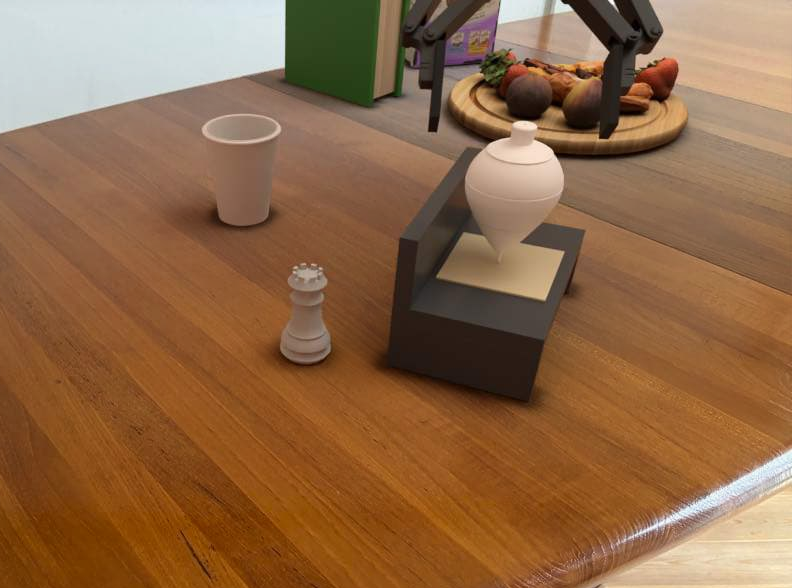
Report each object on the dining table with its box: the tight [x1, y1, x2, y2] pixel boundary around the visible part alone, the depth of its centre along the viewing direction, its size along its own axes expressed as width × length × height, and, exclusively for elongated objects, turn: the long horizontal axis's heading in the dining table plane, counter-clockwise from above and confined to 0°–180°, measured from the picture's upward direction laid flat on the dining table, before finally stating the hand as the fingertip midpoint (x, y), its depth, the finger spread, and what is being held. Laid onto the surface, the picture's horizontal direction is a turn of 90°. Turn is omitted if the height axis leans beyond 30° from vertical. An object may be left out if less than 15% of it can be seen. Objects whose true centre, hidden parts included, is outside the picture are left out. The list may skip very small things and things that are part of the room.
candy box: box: [405, 0, 502, 69], centre depth 132 cm, size 14×6×16 cm, turn 100°
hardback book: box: [284, 0, 410, 108], centre depth 120 cm, size 18×7×24 cm, turn 42°
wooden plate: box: [447, 48, 689, 156], centre depth 114 cm, size 32×32×8 cm
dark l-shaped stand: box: [385, 146, 586, 403], centre depth 71 cm, size 12×20×12 cm, turn 154°
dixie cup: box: [201, 113, 282, 227], centre depth 90 cm, size 8×8×10 cm
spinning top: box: [465, 121, 565, 263], centre depth 67 cm, size 8×8×12 cm
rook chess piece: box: [279, 262, 332, 365], centre depth 69 cm, size 4×4×8 cm
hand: (519, 128), depth 66 cm, fingers open, 13 cm apart
